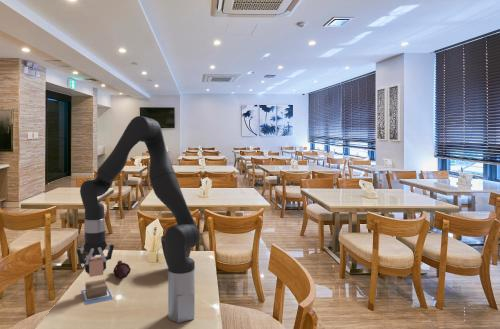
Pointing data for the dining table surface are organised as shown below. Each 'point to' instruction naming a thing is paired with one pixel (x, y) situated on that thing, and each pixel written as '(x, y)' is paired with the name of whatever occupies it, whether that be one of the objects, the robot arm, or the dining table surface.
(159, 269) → the dining table surface
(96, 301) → the blueprint mat
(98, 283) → the walnut base
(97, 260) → the terracotta block
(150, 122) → the robot arm
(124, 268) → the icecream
